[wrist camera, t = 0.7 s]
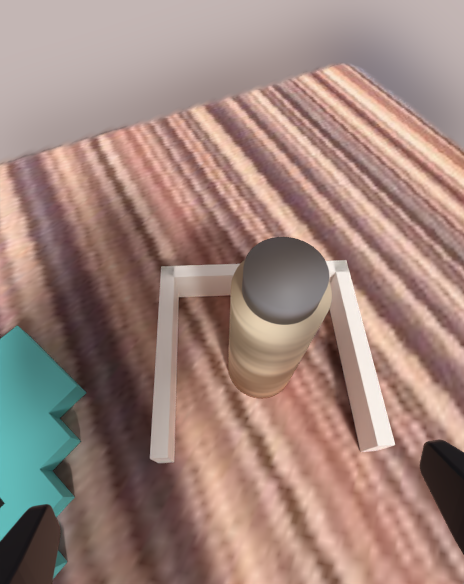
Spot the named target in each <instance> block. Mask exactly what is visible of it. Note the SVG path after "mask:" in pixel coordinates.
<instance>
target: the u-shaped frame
mask: <svg viewBox="0 0 464 584" xmlns="http://www.w3.org/2000/svg"><path fill="white" fill-rule="evenodd" d="M326 263H327V266H328V269H329V283H330V286H331V291H332V301H331V305H330V308H329V309H330V313H331V318H332V322H333V327H334V332H335V336H336V341H337V346H338V350H339V355H340V359H341V364H342V369H343V373H344V378H345V382H346V387H347V392H348V396H349V401H350V405H351V410H352V415H353V419H354V424H355V429H356V433H357V438H358V442H359V447H360V452H365V451H377V450H380V449H384V448H387V447H390V446H394V445H395V443H394V439H393V435H392V431H391V428H390V424H389V420H388V416H387V412H386V409H385V405H384V401H383V397H382V394H381V390H380V386H379V382H378V378H377V375H376V371H375V367H374V363H373V360H372V356H371V352H370V348H369V344H368V341H367V337H366V333H365V329H364V325H363V322H362V318H361V314H360V310H359V307H358V303H357V299H356V295H355V291H354V288H353V284H352V280H351V276H350V273H349V269H348V265H347V261H346V260H342V261H326ZM239 265H240V264H217V265H186V266H161V278H160V294H159V311H158V328H157V345H156V362H155V379H154V396H153V413H152V430H151V447H150V459H151V460H153V461H155V462H157V463H170V462H174V457H175V420H176V383H177V346H178V309H179V297H201V296H229V295H231V282H232V278H233V275H234V273H235V271H236V269H237V267H238V266H239Z"/></svg>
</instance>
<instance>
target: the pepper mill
mask: <svg viewBox="0 0 464 584" xmlns="http://www.w3.org/2000/svg"><path fill="white" fill-rule="evenodd" d="M331 301H332V291H331V286H330V283H329V269H328V266H327V263H326V261H325V259H324V258H323V256H322V255H321V254H320V253H319V252H318V251H317V250H316V249H315V248H314V247H312V246H311V245H309V244H308V243H306V242H304V241H301V240H298V239H295V238H289V237H276V238H271V239H267V240H265V241H262V242H260V243H259V244H257V245H256V246H255V247H253V248H252V249H251V251H250V252H249V253H248V255H247V257H246V259H245V260H244V261H243V262H242V263H241V264H240V265H239V266H238V267H237V269H236V271H235V273H234V275H233V278H232V282H231V298H230V328H229V358H228V370H229V375H230V378H231V380H232V382H233V383H234V385H235V386H236V387H237V388H238V389H239V390H240V391H241V392H242V393H244V394H246V395H248V396H250V397H254V398H269V397H272V396H275V395H277V394H278V393H280V392H281V391H282V390H283V389H284V388H285V387H286V385H287V384H288V382H289V380H290V378H291V377H292V375H293V373H294V371H295V370H296V368H297V366H298V364H299V363H300V361H301V359H302V357H303V355H304V354H305V352H306V350H307V348H308V347H309V345H310V343H311V341H312V339H313V338H314V336H315V334H316V332H317V331H318V329H319V327H320V325H321V324H322V322H323V320H324V318H325V316H326V315H327V313H328V311H329V308H330V305H331Z"/></svg>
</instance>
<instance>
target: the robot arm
mask: <svg viewBox="0 0 464 584" xmlns="http://www.w3.org/2000/svg"><path fill="white" fill-rule="evenodd" d="M420 470H421V474H422V476H423V478H424V480H425V482H426V484H427V486H428V488H429V490H430V492H431V494H432V496H433V498H434V500H435V502H436V504H437V506H438V508H439V510H440V512H441V514H442V516H443V518H444V520H445V522H446V524H447V526H448V528H449V530H450V531H451V533H452V535H453V537H454V539H455V541H456V543H457V544H458V546H459V548H460V549H461V551H462V553H463V554H464V452H462V451H461V450H459V449H457V448H456V447H454V446H452V445H451V444H449V443H447V442H446V441H443V440H433V441H428V442H426V443H425V444H424V447H423V451H422V456H421V460H420ZM59 541H60V525H59V523H58V520H57V518H56V516H55V513H54V511H53V509H52V507H51V505H49V504H43V505H37V506H32V507H30V508H29V509H28V510H27V511H26V512H25V513H24V514H23V515H22V516H21V517H20V519H19V520H18V521H17V522H16V523H15V524H14V526H13V527H12V528H11V529H10V530H9V531H8V533H7V534H6V535H5V536H4V537H3V538H2V540H1V541H0V584H52V582H53V576H54V570H55V564H56V558H57V553H58V547H59Z"/></svg>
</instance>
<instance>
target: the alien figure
mask: <svg viewBox="0 0 464 584" xmlns="http://www.w3.org/2000/svg"><path fill="white" fill-rule="evenodd" d="M85 394H86V392H85V391H84V390H83V389H82V388H81V387H80V386H79V385H78V384H77V383H76V382H75V381H74V380H73V379H72V378H71V377H70V376H69V375H68V374H67V373H66V372H65V371H64V370H63V369H62V368H61V367H60V366H59V365H58V364H57V363H56V362H55V361H54V360H53V359H52V358H51V357H50V356H49V355H48V354H47V353H46V352H45V351H44V350H43V349H42V348H41V347H40V346H39V345H38V344H37V343H36V342H35V341H34V340H33V339H32V338H31V337H30V336H29V335H28V334H27V333H26V332H25V331H23V330H22V329H21V328H20V327H19V326H16V327H15V328H13V329H12V330H11V331H10V332H8V333H7V334H6V335H5V336H3V337H2V338H1V339H0V541H1V540H2V538H3V537H4V536H5V535H6V534H7V533H8V531H9V530H10V529H11V528H12V527H13V526H14V524H15V523H16V522H17V521H18V520H19V519H20V517H21V516H22V515H23V514H24V513H25V512H26V511H27V510H28V509H29V508H30V507H32V506H37V505H43V504H49V505H51V507H52V509H53V511H54V513H55V516H56V517H57V516H58V515H59V514H60V513H61V512H62V511H63V510H64V508H65V507H66V506H67V505H68V504H69V503H70V502H71V501H72V500H73V499H74V498H75V497H74V496H73V494H72V493H71V492H70V491H69V490H68V489H67V487H66V486H65V485H64V484H63V483H62V482H61V480H60V479H59V478H58V477H57V476H56V475H55V473H54V472H53V470H54V469H55V468H56V467H57V466H58V464H59V463H60V462H61V461H62V460H63V459H64V458H65V457H66V456H67V455H68V454H69V453H70V452H71V451H72V450H73V449H74V448H75V447H76V446H77V445H78V444H79V443H80V442H81V441H80V440H79V439H78V437H77V436H76V435H75V434H74V433H73V432H72V431H71V430H70V429H69V428H68V427H67V426H66V425H65V423H64V422H63V421H62V420H61V419H60V418H61V417H62V416H63V415H64V414H65V413H66V412H67V411H68V410H69V409H70V408H71V407H72V406H73V405H74V404H75V403H76V402H77V401H78V400H79V399H80V398H82V397H83V396H84V395H85ZM66 563H67V560H66V559H65V558H64V557H63V555H62V554H61V553H60V552H59V550H58V553H57V558H56V564H55V570H54V576H53V578H54V577H55V576H56V575H57V574H58V573H59V571H60V570H61V569H62V568H63V567H64V566H65V564H66Z"/></svg>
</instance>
